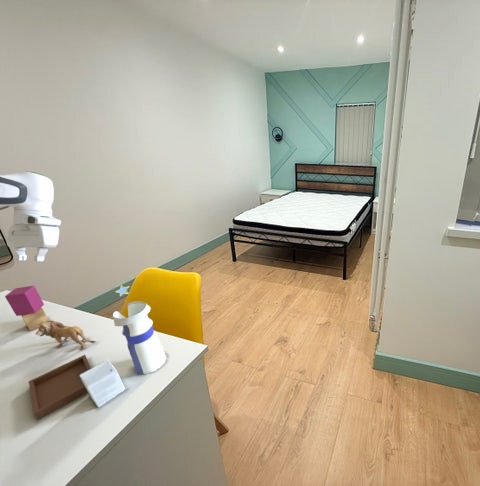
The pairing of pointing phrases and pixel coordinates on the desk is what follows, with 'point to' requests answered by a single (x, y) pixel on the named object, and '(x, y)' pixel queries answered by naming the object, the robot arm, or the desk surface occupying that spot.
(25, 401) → the desk surface
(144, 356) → the white milk jug
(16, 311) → the top block
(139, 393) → the desk surface
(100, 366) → the product box
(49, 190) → the robot arm
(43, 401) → the tray
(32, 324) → the base block
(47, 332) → the lion figurine
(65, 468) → the desk surface
